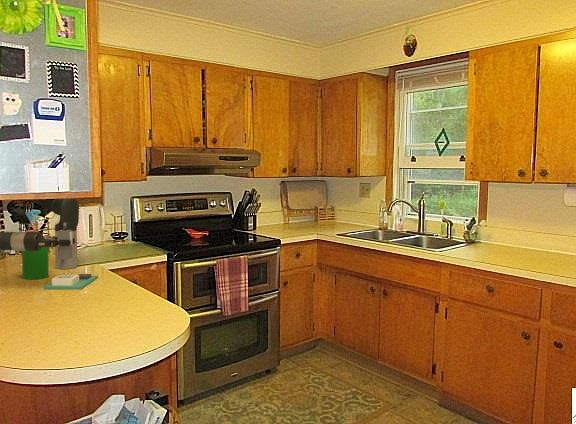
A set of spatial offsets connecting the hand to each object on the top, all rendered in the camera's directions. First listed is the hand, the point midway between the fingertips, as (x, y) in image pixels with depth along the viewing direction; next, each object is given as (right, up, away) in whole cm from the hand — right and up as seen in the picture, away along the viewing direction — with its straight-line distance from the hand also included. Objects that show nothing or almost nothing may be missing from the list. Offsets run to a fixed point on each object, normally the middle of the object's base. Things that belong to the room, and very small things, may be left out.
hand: (72, 241), depth 188 cm
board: (-2, -17, +5) cm, 18 cm away
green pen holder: (-22, -16, +15) cm, 31 cm away
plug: (-3, -6, 0) cm, 7 cm away
